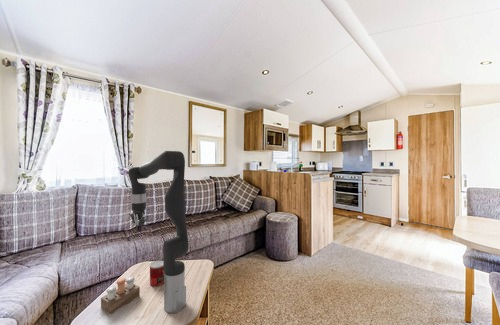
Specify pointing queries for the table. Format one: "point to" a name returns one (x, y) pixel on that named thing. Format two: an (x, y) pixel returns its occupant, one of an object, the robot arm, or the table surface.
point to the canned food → (156, 273)
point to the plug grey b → (130, 283)
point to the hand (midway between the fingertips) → (138, 231)
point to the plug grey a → (111, 292)
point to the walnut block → (120, 299)
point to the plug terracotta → (121, 286)
